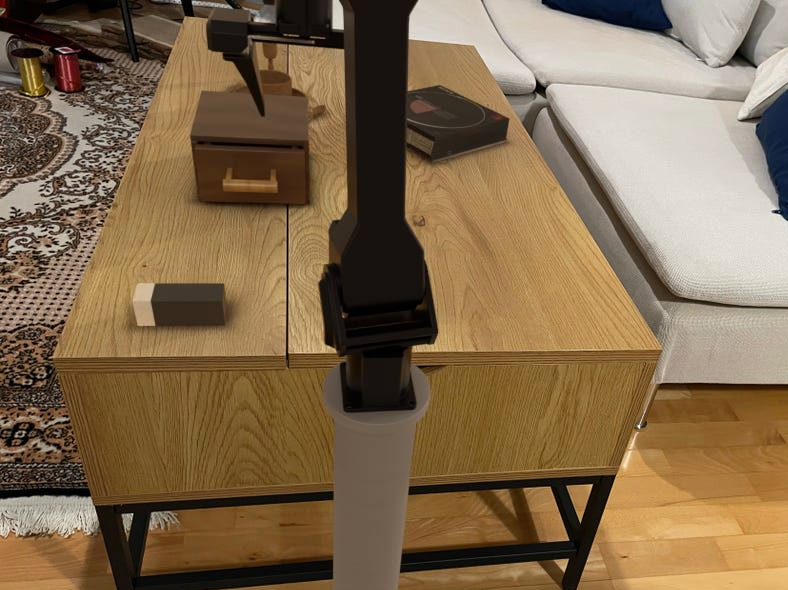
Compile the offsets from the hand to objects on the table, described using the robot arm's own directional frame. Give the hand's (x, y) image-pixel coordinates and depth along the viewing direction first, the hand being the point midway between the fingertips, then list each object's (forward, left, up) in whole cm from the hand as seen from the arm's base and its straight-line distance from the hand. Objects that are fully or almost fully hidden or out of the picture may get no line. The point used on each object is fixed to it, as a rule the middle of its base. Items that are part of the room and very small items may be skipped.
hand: (306, 117), depth 78 cm
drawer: (+8, +6, -13) cm, 16 cm away
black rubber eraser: (-19, +12, -14) cm, 26 cm away
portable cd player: (+31, -21, -14) cm, 40 cm away
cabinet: (+13, +6, -14) cm, 20 cm away
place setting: (+42, +3, -14) cm, 44 cm away
